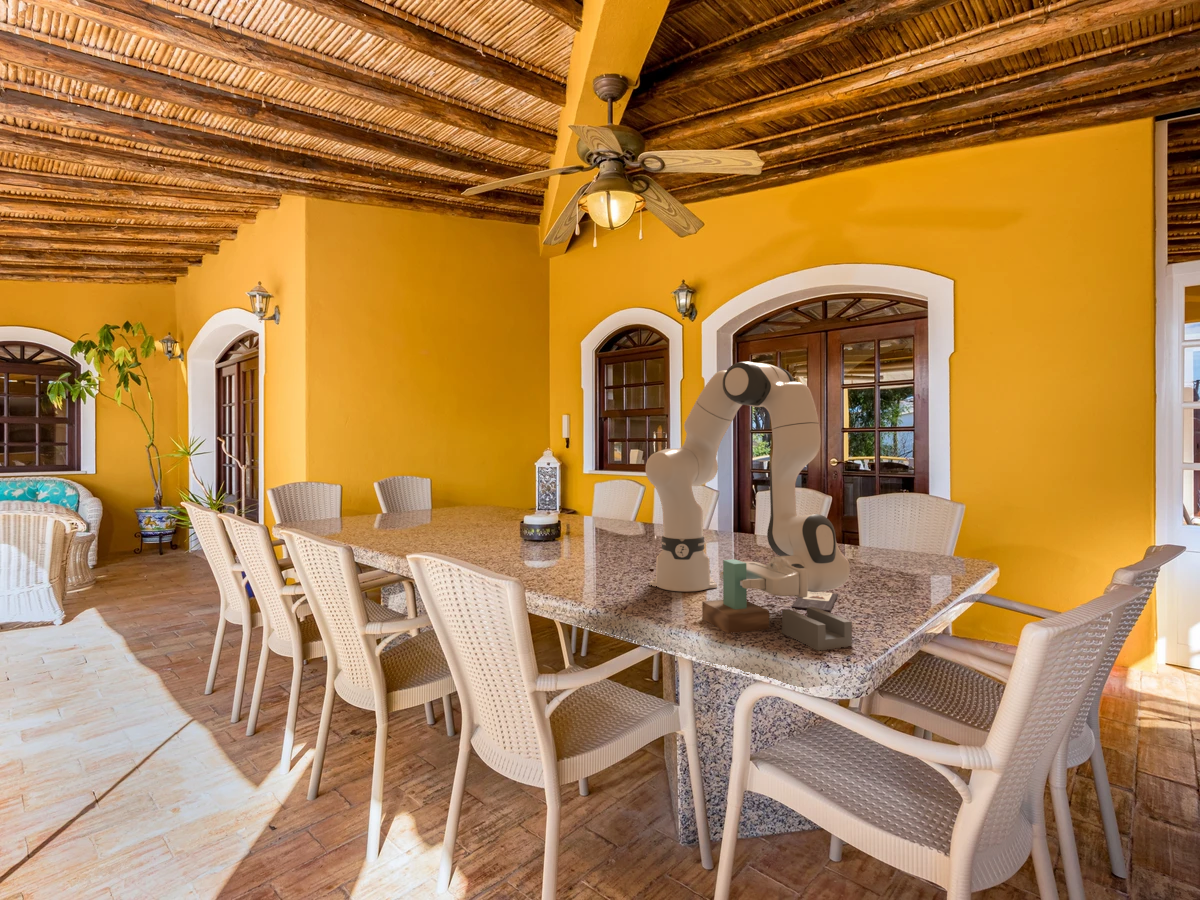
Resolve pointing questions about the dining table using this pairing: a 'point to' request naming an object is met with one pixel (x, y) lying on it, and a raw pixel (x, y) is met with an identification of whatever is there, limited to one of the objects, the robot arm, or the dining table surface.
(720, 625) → the brown block
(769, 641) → the dining table surface
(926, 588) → the dining table surface
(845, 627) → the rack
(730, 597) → the sage green upright block
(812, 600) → the chocolate bar
